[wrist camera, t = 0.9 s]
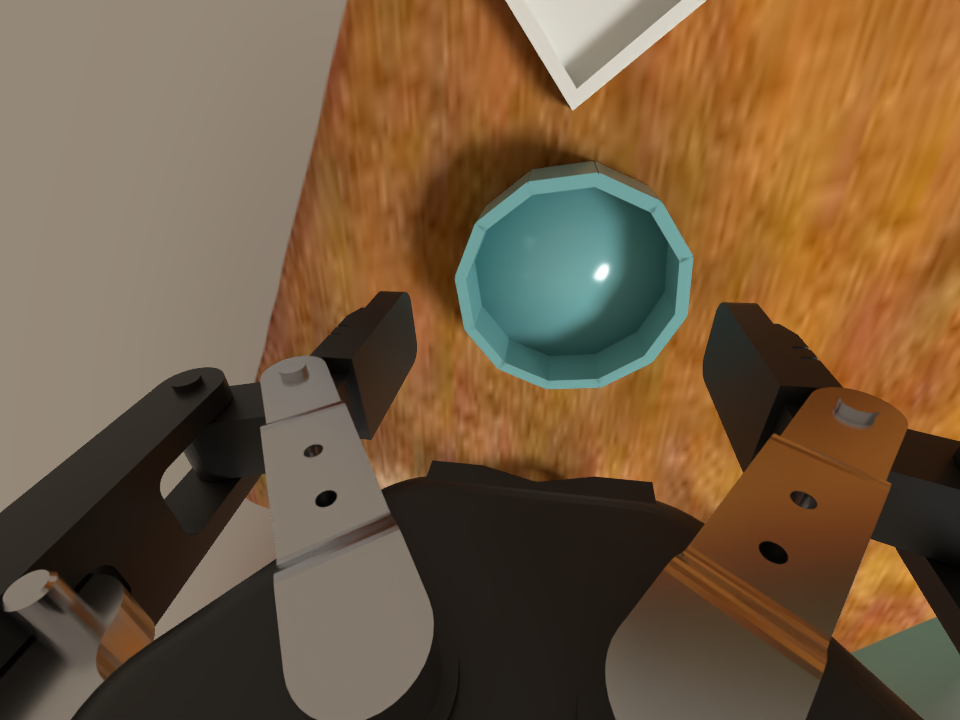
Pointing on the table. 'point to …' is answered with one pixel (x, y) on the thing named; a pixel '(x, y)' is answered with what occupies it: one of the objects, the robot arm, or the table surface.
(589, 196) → the bowl
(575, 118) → the table surface
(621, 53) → the tray
